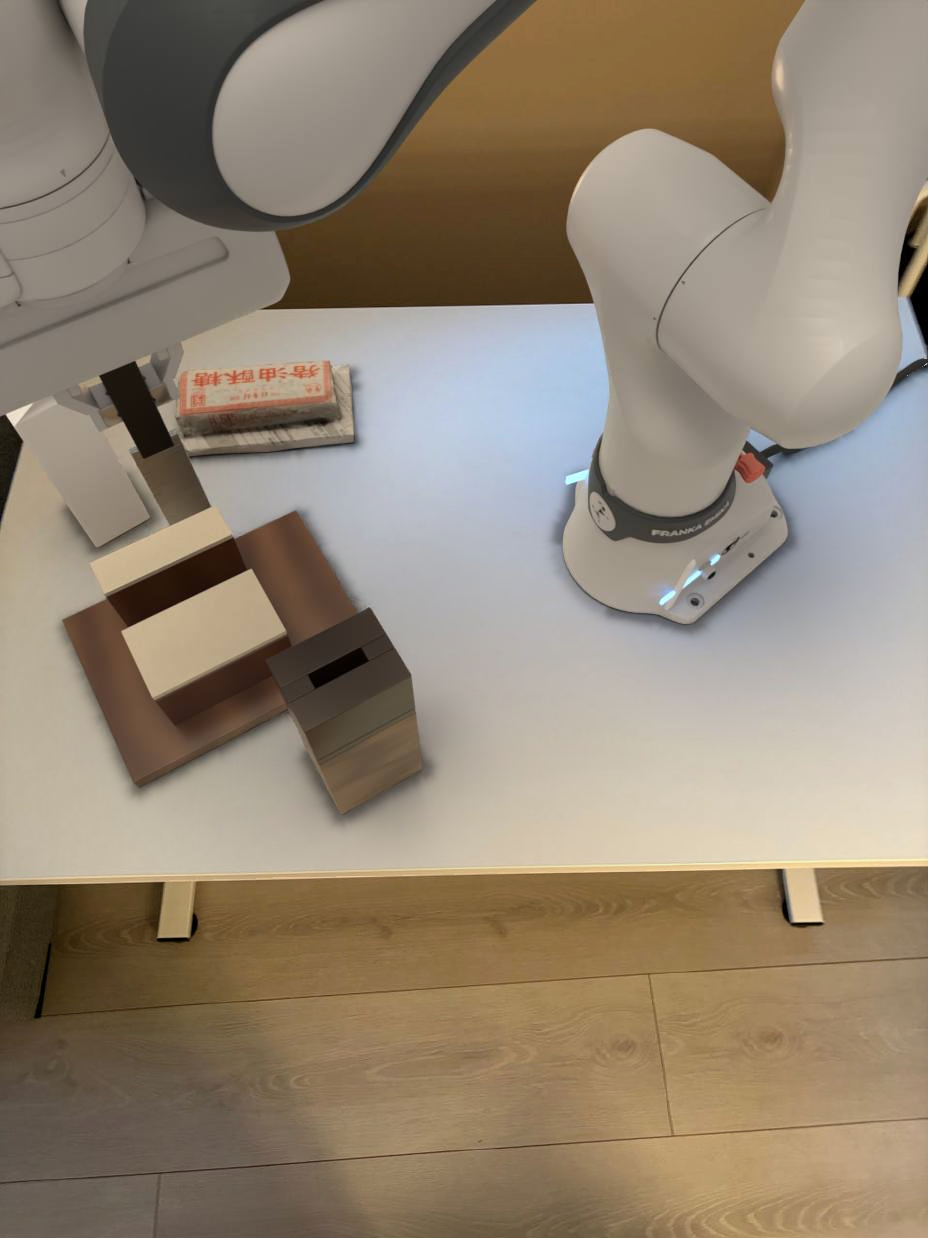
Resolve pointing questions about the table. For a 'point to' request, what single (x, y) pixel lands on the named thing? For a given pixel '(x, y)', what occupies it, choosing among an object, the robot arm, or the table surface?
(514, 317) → the table surface
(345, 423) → the packaged product
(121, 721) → the board
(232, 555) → the cake slice
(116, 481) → the milk
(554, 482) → the table surface
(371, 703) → the knife block
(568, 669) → the table surface
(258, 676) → the cake
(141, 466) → the knife
